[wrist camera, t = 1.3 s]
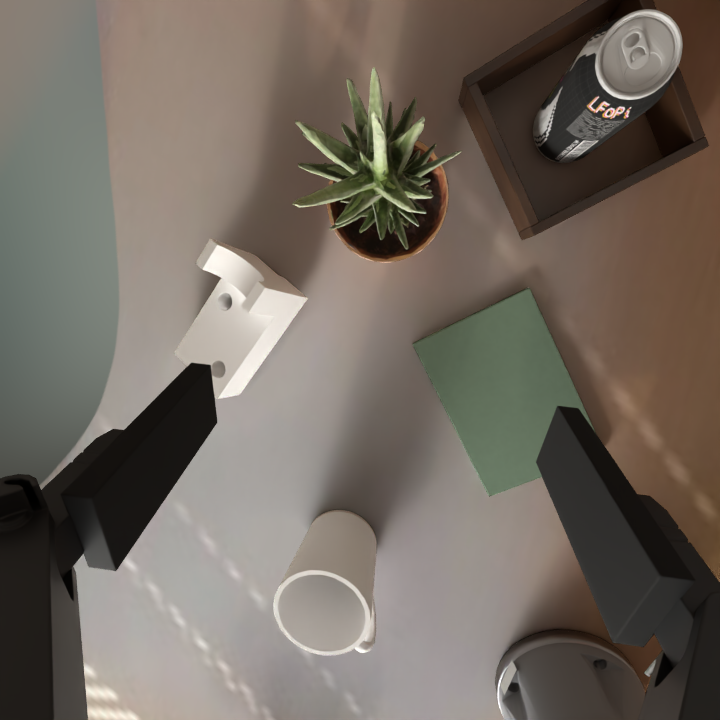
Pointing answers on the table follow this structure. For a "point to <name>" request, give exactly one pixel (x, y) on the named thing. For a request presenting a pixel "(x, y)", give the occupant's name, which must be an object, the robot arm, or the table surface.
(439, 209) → the potted plant
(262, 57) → the table surface
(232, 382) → the bracket
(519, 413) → the mat
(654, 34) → the beverage can
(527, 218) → the holder
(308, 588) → the mug
